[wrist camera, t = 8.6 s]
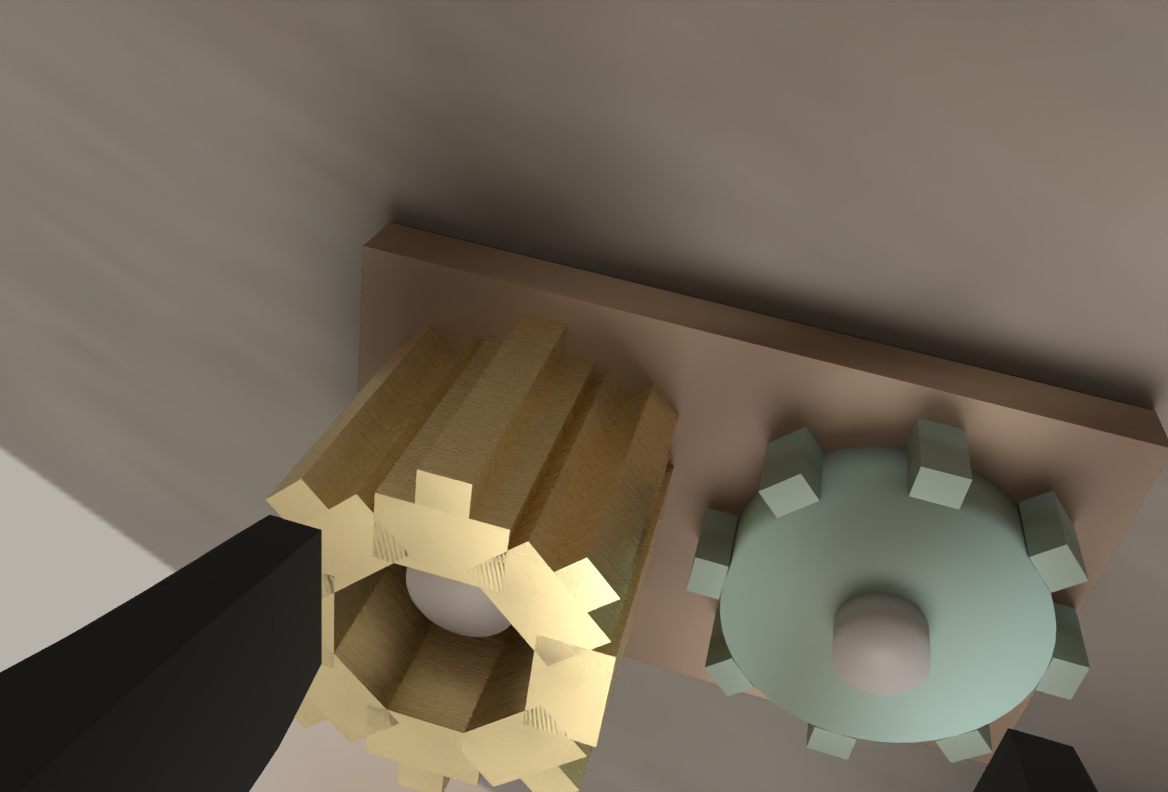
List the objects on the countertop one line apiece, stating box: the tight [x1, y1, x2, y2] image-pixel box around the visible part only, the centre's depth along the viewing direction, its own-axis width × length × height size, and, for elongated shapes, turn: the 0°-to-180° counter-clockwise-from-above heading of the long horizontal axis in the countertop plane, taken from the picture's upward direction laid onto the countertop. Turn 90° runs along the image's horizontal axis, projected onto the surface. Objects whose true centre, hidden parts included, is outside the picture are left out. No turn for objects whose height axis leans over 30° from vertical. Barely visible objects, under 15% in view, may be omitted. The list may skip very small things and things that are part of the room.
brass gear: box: [266, 314, 679, 792], centre depth 18 cm, size 6×7×5 cm
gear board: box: [358, 223, 1168, 764], centre depth 18 cm, size 14×8×5 cm, turn 81°
